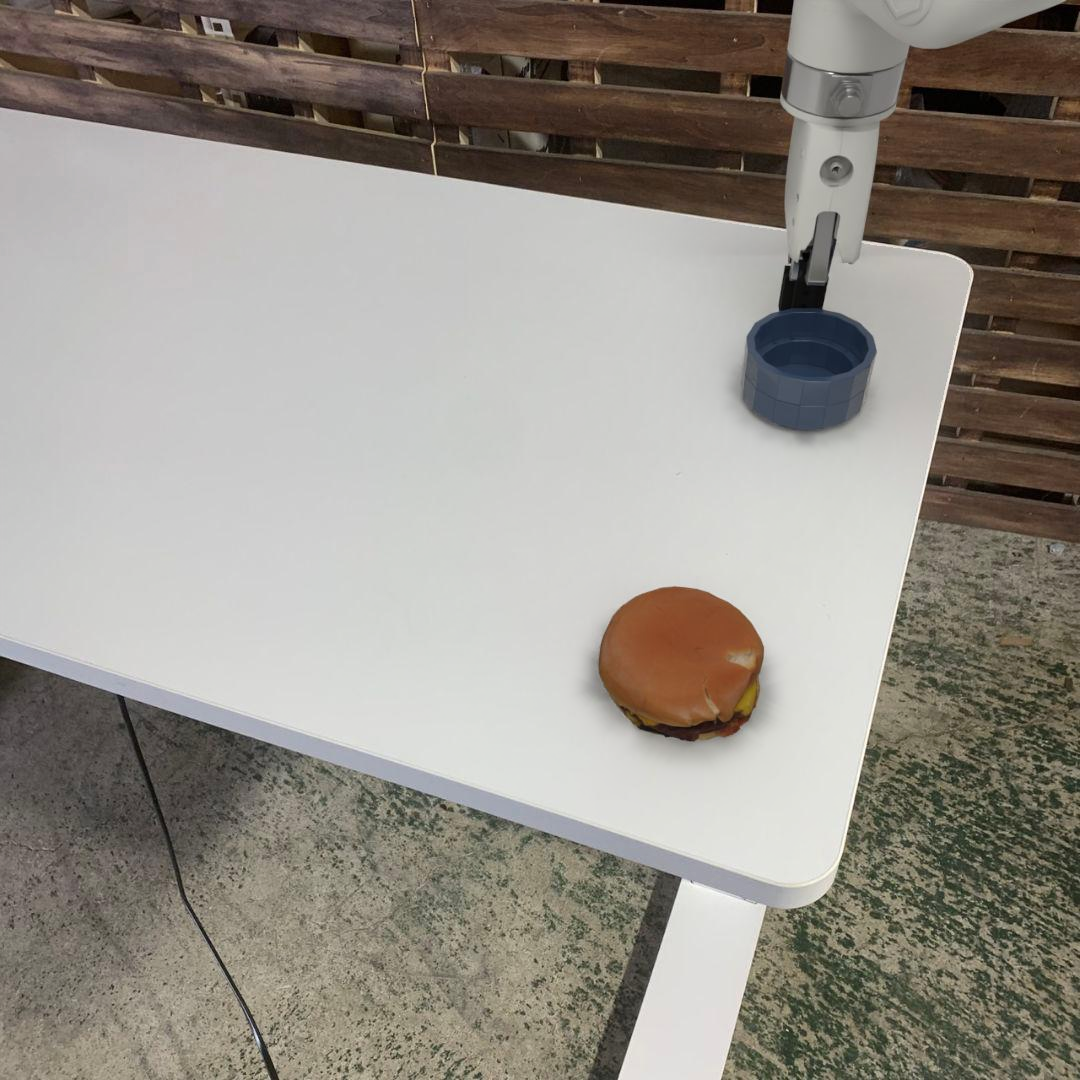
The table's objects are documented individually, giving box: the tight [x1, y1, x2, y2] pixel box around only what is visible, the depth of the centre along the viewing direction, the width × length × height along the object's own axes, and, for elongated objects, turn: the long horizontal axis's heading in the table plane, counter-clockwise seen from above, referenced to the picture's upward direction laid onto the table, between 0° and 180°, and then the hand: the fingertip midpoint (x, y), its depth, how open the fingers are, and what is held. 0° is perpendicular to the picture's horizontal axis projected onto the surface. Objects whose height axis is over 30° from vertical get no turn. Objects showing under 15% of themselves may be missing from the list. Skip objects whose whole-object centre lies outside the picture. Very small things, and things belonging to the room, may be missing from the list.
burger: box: [597, 585, 765, 743], centre depth 56 cm, size 10×9×5 cm
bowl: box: [740, 308, 878, 431], centre depth 73 cm, size 9×9×5 cm
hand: (798, 315), depth 77 cm, fingers closed
